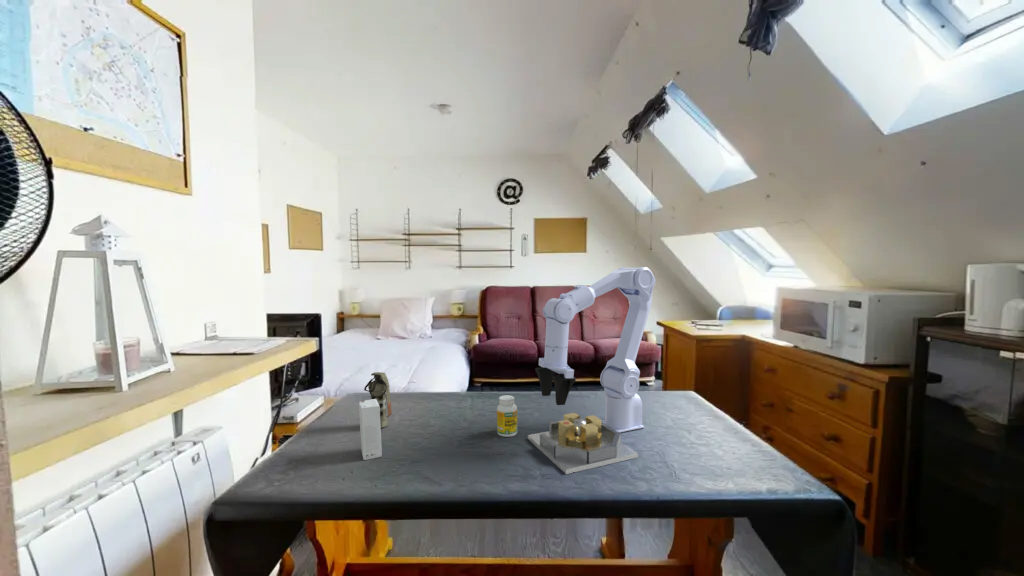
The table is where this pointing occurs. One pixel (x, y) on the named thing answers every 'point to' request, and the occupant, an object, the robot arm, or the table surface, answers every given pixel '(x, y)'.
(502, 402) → the supplement bottle
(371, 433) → the skincare box
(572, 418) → the gold block ring
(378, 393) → the grenade model
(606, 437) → the flange plate
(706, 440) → the table surface
